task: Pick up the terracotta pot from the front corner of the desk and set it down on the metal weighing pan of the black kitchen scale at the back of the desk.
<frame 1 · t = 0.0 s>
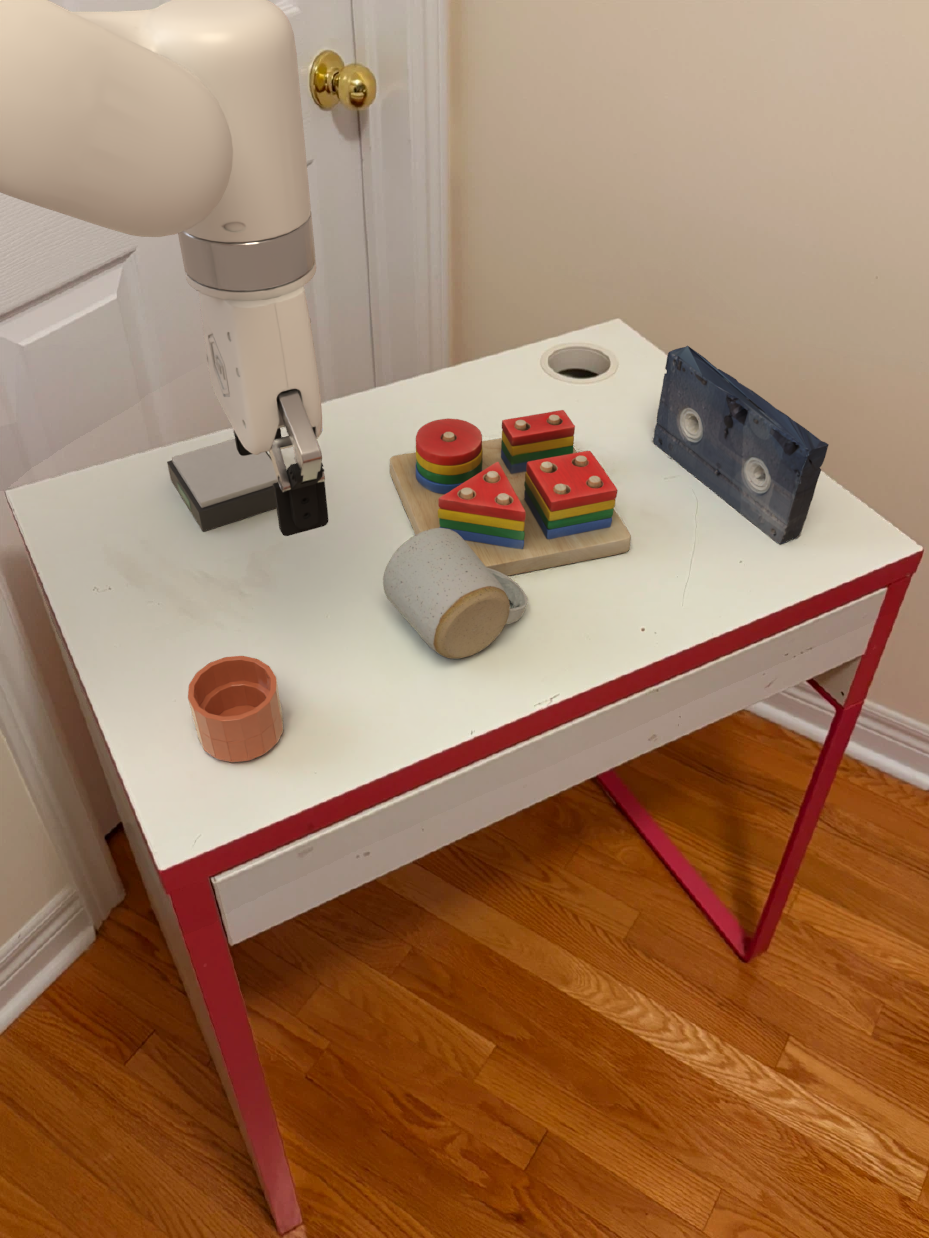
hand: (281, 487, 72), 15 cm above the table, tool pointing down, fingers open, 9 cm apart
terracotta pot: (242, 733, 76), on the table
shape sorter: (504, 511, 95), on the table
scale: (231, 491, 96), on the table
ceramic mug: (460, 623, 85), on the table
vhs cassette tape: (722, 489, 98), on the table
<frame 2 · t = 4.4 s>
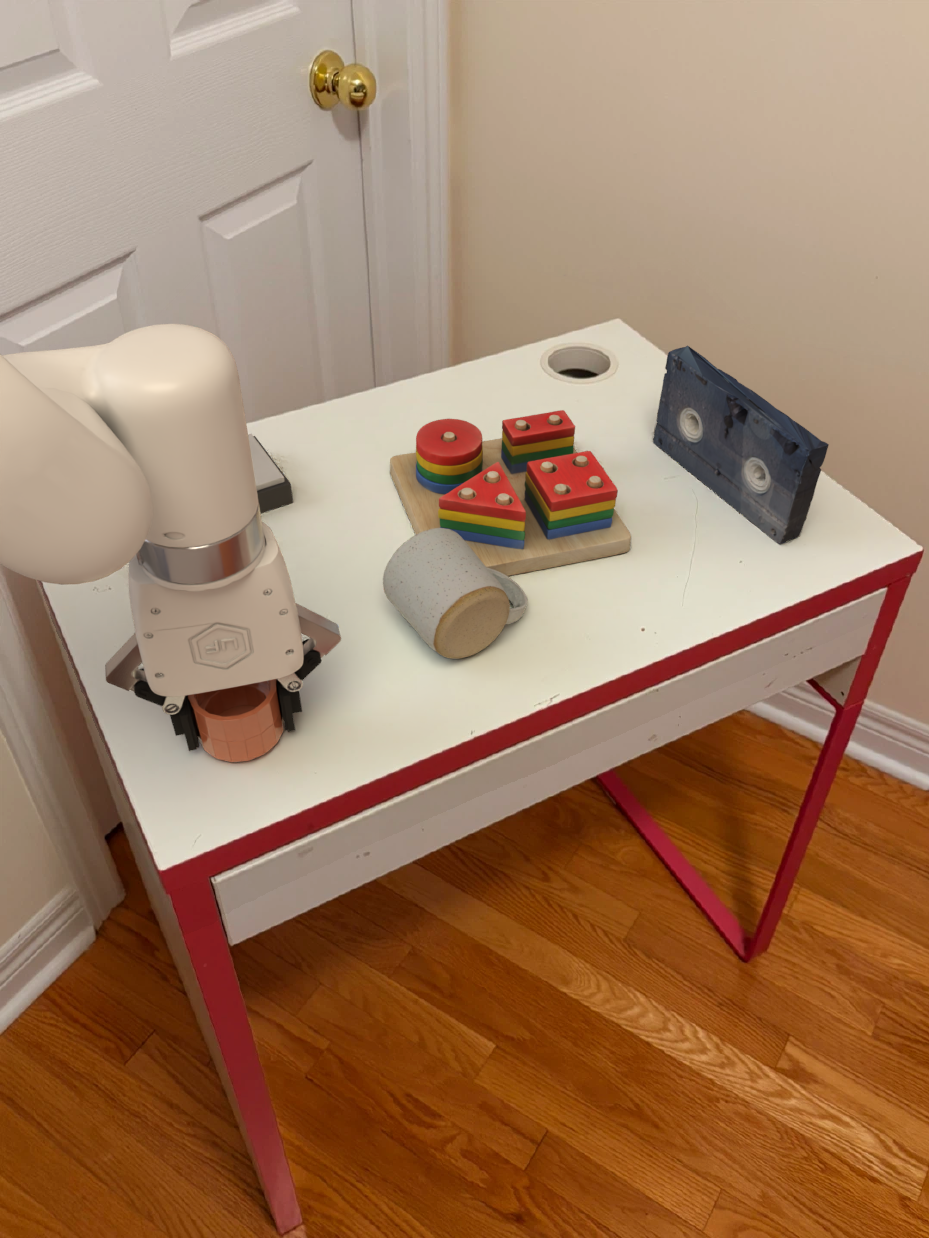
hand: (240, 724, 75), 1 cm above the table, tool pointing down, fingers closed on terracotta pot, 6 cm apart
terracotta pot: (242, 733, 76), on the table, touching gripper
everything else where it was.
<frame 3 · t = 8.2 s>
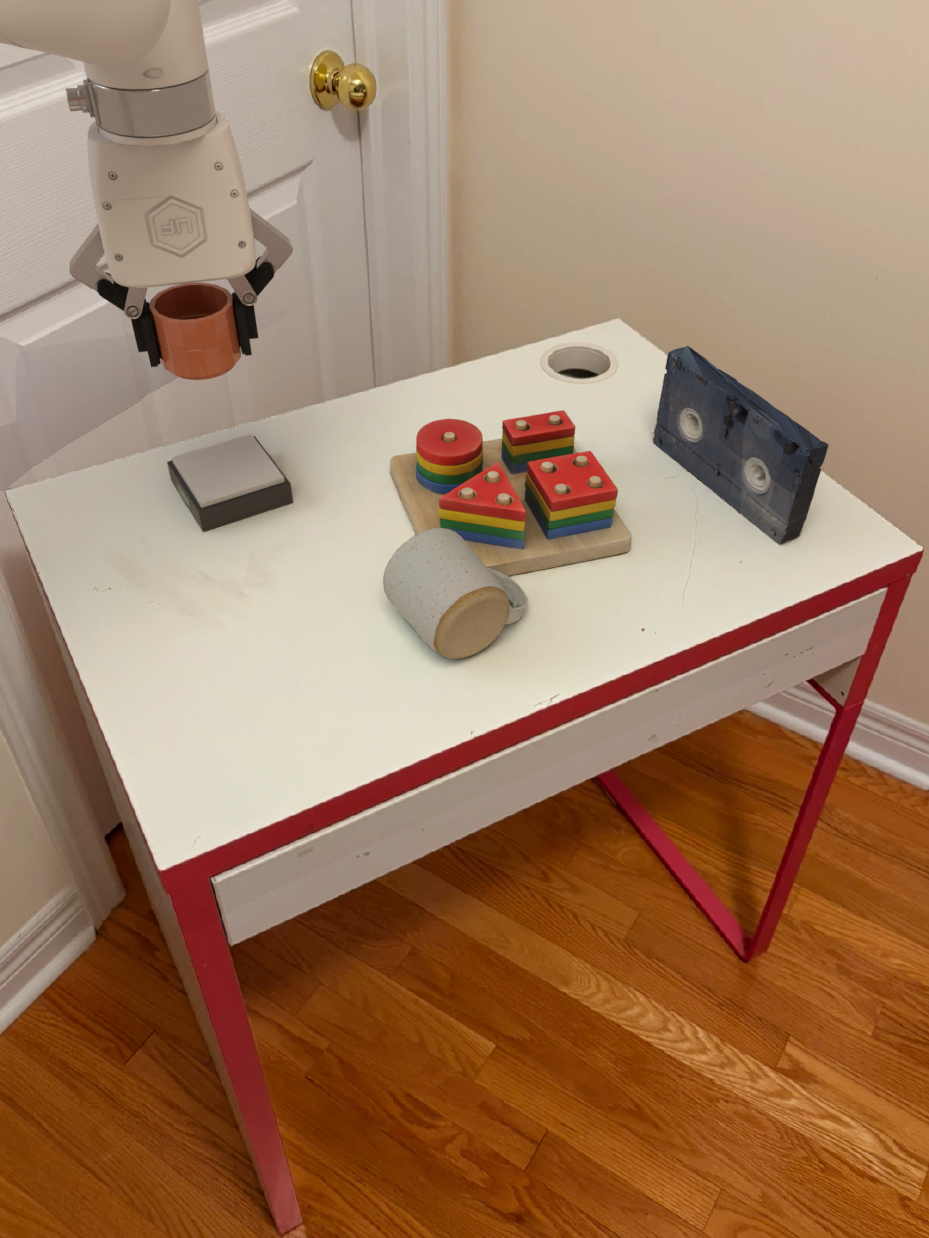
hand: (200, 350, 80), 18 cm above the table, tool pointing down, fingers closed on terracotta pot, 6 cm apart
terracotta pot: (202, 362, 80), point 17 cm above the table, touching gripper
everything else where it was.
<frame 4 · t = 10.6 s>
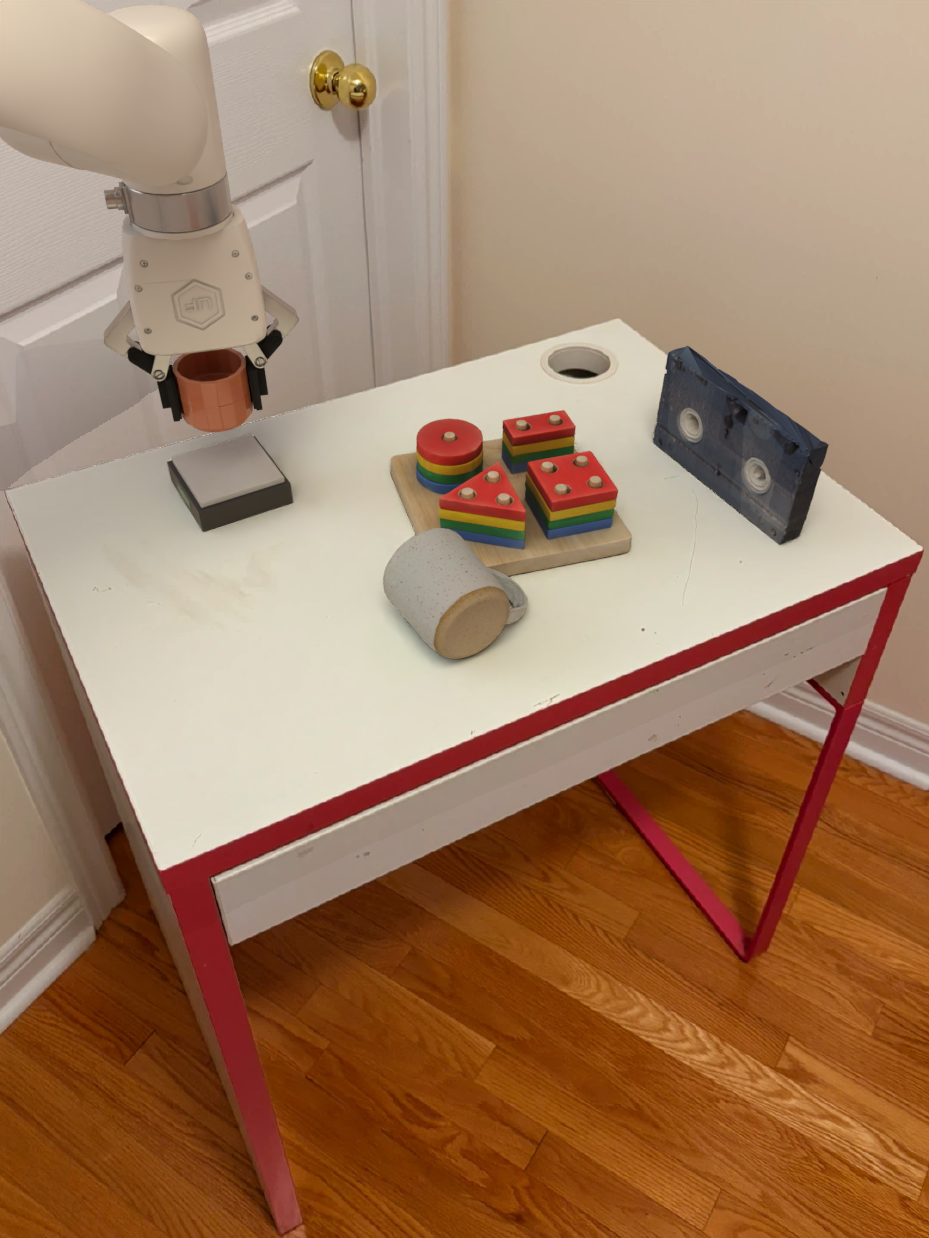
hand: (216, 405, 90), 9 cm above the table, tool pointing down, fingers closed on terracotta pot, 6 cm apart
terracotta pot: (218, 415, 91), point 8 cm above the table, touching gripper
shape sorter: (504, 511, 95), on the table, touching ceramic mug
ceramic mug: (460, 623, 85), on the table, touching shape sorter
everything else where it was.
when the fingers open (4 cm above the table, at t = 12.4 s): terracotta pot stays where it is, resting on scale.
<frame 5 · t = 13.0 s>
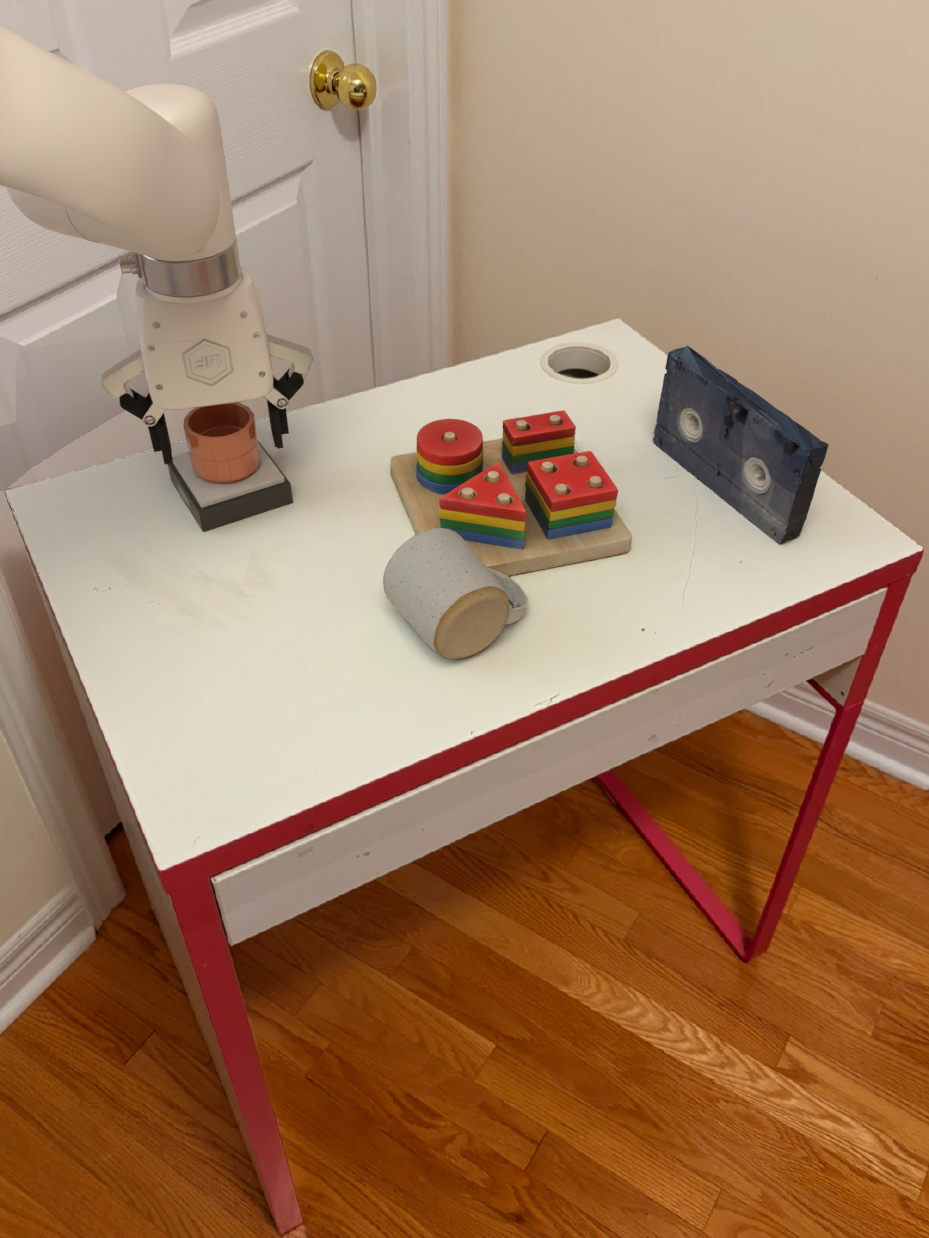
hand: (223, 447, 93), 5 cm above the table, tool pointing down, fingers open, 9 cm apart
terracotta pot: (227, 466, 95), point 3 cm above the table, touching scale
shape sorter: (504, 512, 95), on the table
ceramic mug: (460, 623, 85), on the table
everything else where it was.
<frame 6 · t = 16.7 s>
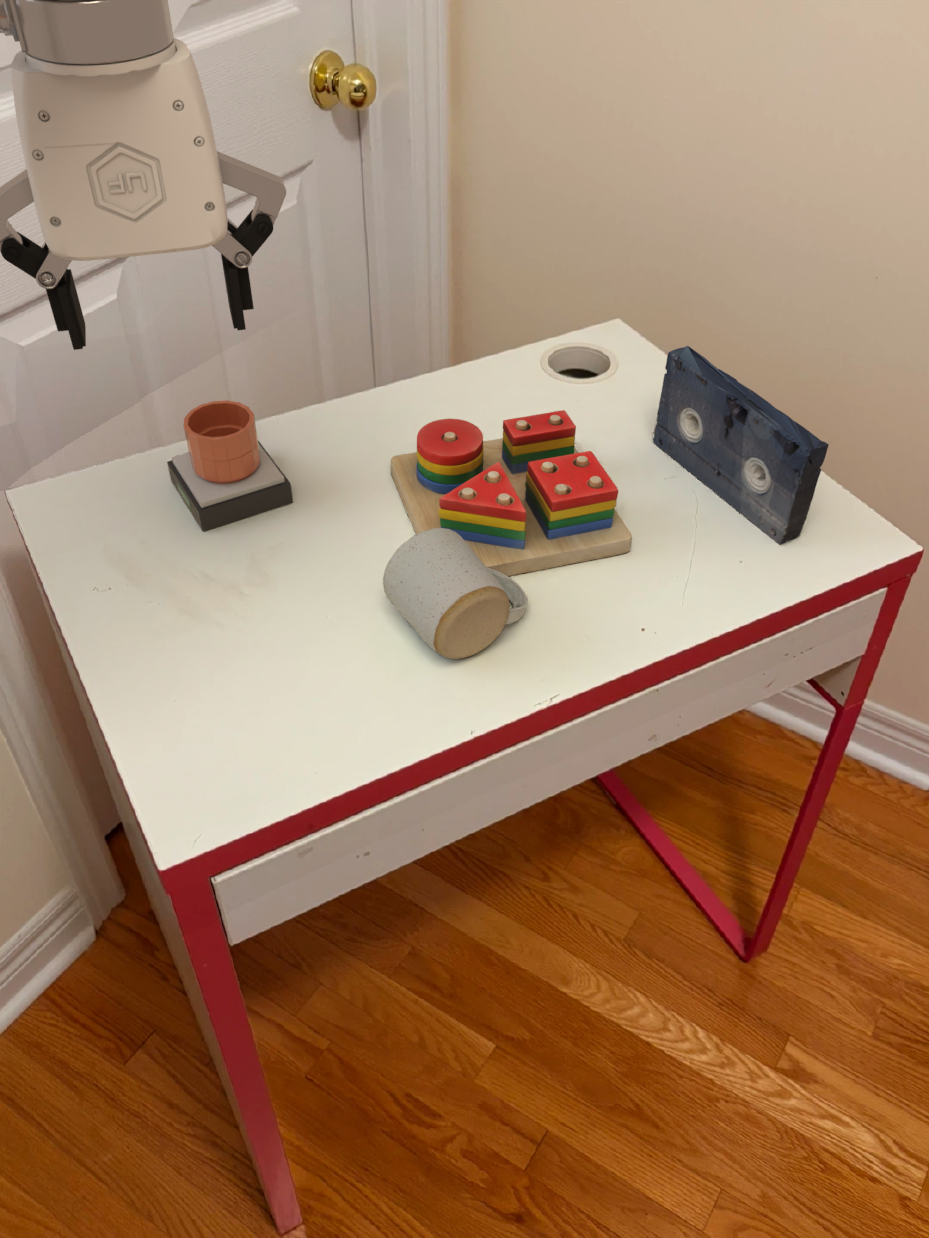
hand: (160, 329, 65), 26 cm above the table, tool pointing down, fingers open, 9 cm apart
nothing on the table moved.
at the end: terracotta pot 0.0 cm off-centre on the scale, point 2.8 cm above the scale's base; terracotta pot tilted 0° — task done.
